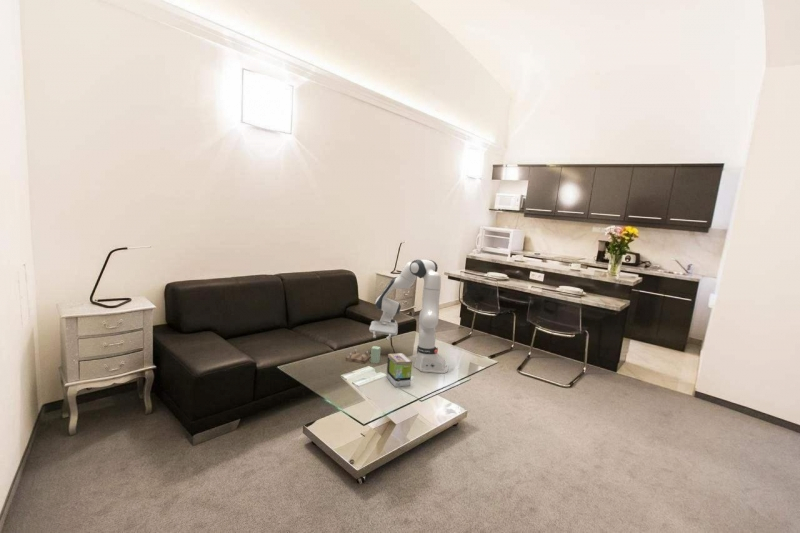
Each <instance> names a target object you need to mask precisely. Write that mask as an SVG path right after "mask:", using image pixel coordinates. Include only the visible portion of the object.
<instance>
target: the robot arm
mask: <svg viewBox="0 0 800 533" xmlns="http://www.w3.org/2000/svg"><path fill="white" fill-rule="evenodd" d="M417 278H419V279H423V289H422V298H421V301H422V302H421V309H420V311H419V320H418V341H417V342H418V343H417V344H418V345H417V348H416V358H415V362H414V364H413V366H414V368H415V369H417V370H419V371H420V372H423V373H431V374H432V373H433V374H442V375H443V374H446V373H448V371H449V366H448V365H446V361H445V358H444V357H443V356H442V355H441V354H440V353H439V352H438V350H439V347H436V336H437V335H436V332H437V331H436V327H437V326H438V325H439V316H440V315H439V314H440V297H441V296H440V295H441V288H442V286H441V285H442V284H441V283H442V280H441V274H440V273H439V272H438V263H436V262H435V261H434V260H432V259H424V258H422V259H414V260H412V261H408V262H407V263H406V264H405V266H404V267H403V268H402V270H401V271H400V273H399V275H398V276H397V277H393V278H392V279H391V280H390V281H389V283H387V285H386V286H385V287H384V289H383V291H382V292H381V293H380V294H379V295H378V296H377V297H376V299H375V302H374V306H375V308H376V309H377V310H379V311H382V314H381V317H380V319H379V320H372V321H371V322H370V326H369V329H368V330H369V333H373V336H372V338H373V339H376V338H377V335H376V334H380V335H381V334H382V335H387V336H385V337H386V338H385V340H386V341H389V340H390V338H391V337H392V336H394V337H396V336H397V335H398V331H399V330H398V329H399V328H398V327H399V324H398V322H397V320H395V319H394V317H396V316H398V315H399V314H400V312H401V308H402V305H401V303H400V302H398V301H396V300H393V299H391V298H389V297H388V296H389V294H390V293H391V292H392V291H393V290H397V289H401V290H405V289H409V288H412V287H413V285H414V283H415V281H416V279H417Z"/></svg>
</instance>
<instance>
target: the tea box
mask: <svg viewBox="0 0 800 533" xmlns="http://www.w3.org/2000/svg"><path fill="white" fill-rule="evenodd" d="M412 368H413V361H412V360H411V359H410V358H409V357H408V356H407V355H405V354H404V353H402V352H401V353H398V352H397V353H388V354H387V364H386V378H387V379H388V381H389V382H390V383H391V384H392V385H393V386H394V387H396V388H398V387H399V388H400V387H408V386H411V378H412Z"/></svg>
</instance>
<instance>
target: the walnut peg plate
mask: <svg viewBox="0 0 800 533" xmlns="http://www.w3.org/2000/svg"><path fill="white" fill-rule="evenodd" d="M357 350H358V349H357V348H354V351H352V352H349V354H348V355H347V356H345V359H344V360H345V361H346V362H347V361H349V362H353V363H358V364H359V363H360V364H366V363H367V362H369V361H370V360H371V359H370V358H371V354H369V351H368V350H366V351H365V353H361V352H357ZM369 359H370V360H369Z"/></svg>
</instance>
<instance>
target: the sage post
mask: <svg viewBox="0 0 800 533" xmlns="http://www.w3.org/2000/svg"><path fill="white" fill-rule="evenodd" d="M370 355H371V359H370V360H369V361H370V362H369V363H371V364H377V365H378V364H379V363H380V362H381V346H377V345H373V346H372V347H371V348H370Z"/></svg>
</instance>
